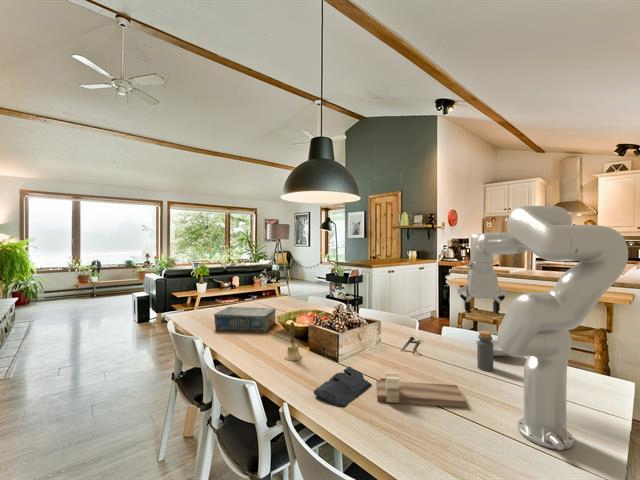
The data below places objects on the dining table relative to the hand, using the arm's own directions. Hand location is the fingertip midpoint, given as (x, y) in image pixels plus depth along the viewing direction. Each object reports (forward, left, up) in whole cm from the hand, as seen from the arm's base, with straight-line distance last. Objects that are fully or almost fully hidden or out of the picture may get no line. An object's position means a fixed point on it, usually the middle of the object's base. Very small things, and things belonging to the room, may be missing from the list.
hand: (481, 312), depth 116 cm
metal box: (+59, +117, -27) cm, 134 cm away
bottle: (+14, -6, -26) cm, 31 cm away
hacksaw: (+36, +19, -27) cm, 49 cm away
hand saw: (+5, +36, -27) cm, 45 cm away
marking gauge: (-14, +34, -26) cm, 45 cm away
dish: (+29, -16, -27) cm, 42 cm away
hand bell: (+15, +76, -27) cm, 82 cm away
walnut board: (-13, +25, -26) cm, 39 cm away
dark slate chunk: (-12, +51, -27) cm, 59 cm away
